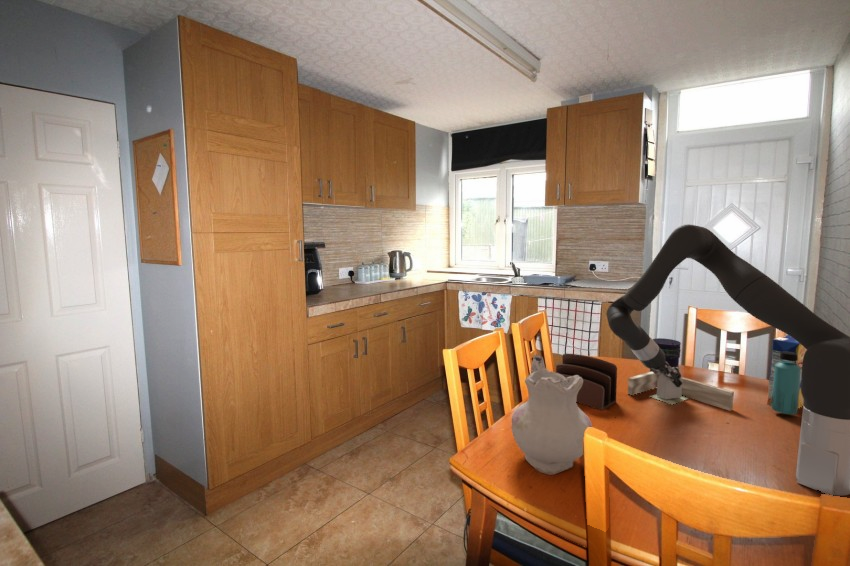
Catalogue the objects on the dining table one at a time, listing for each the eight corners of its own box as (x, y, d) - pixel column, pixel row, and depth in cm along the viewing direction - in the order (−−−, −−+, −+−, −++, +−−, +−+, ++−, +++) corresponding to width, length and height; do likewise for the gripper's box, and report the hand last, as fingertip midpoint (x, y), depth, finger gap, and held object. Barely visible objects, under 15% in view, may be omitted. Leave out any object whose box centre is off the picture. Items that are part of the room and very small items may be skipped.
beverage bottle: (802, 420, 130) (809, 355, 128) (777, 418, 132) (783, 354, 129) (789, 411, 137) (795, 349, 134) (765, 409, 138) (770, 348, 136)
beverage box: (766, 404, 143) (773, 339, 140) (782, 397, 148) (788, 334, 145) (792, 411, 137) (799, 343, 134) (807, 404, 142) (814, 339, 139)
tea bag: (681, 397, 147) (683, 368, 146) (664, 399, 145) (666, 370, 144) (672, 393, 150) (674, 365, 149) (656, 395, 149) (658, 367, 148)
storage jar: (643, 376, 170) (645, 339, 168) (663, 373, 173) (665, 337, 171) (664, 384, 161) (666, 345, 159) (684, 382, 164) (687, 343, 162)
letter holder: (562, 387, 159) (563, 350, 157) (616, 403, 145) (618, 362, 143) (547, 394, 152) (549, 355, 151) (603, 411, 138) (605, 368, 136)
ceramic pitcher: (494, 448, 117) (489, 360, 113) (554, 431, 123) (551, 347, 120) (542, 493, 97) (538, 388, 93) (611, 470, 103) (610, 370, 99)
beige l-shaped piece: (703, 421, 130) (705, 402, 129) (627, 394, 152) (628, 377, 151) (732, 409, 138) (733, 391, 138) (656, 385, 160) (657, 369, 159)
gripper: (671, 348, 137) (699, 381, 141) (638, 337, 150) (664, 368, 155) (656, 365, 136) (685, 398, 141) (624, 353, 150) (651, 384, 154)
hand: (674, 382), depth 148 cm, fingers closed on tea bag, 3 cm apart
